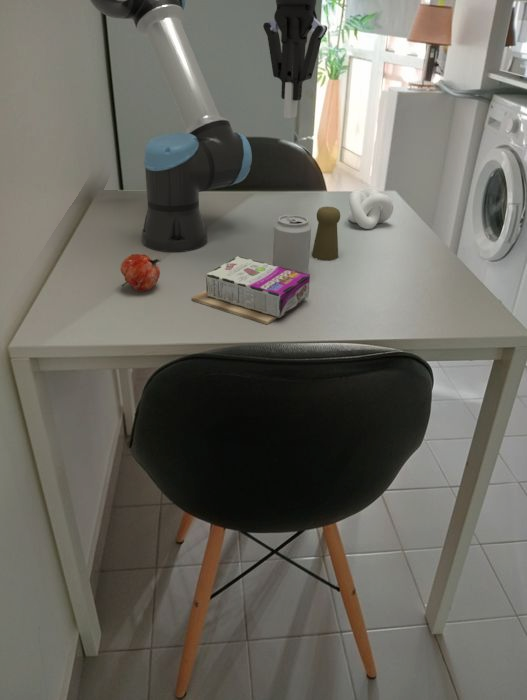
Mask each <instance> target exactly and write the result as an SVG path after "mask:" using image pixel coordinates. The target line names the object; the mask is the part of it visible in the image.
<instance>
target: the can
mask: <svg viewBox="0 0 527 700" xmlns="http://www.w3.org/2000/svg"><path fill="white" fill-rule="evenodd" d="M273 228H274V230H273V251H272V253H273V254H272V265H274V266H278V267H282V268H286V269H290V270H294V271H297V272H301V273H305V274H308V272H309V264H310V253H311V252H310V249H311V239H312V238H311V237H312V226H311V225H310V223H309V218H308V217H306V216H303V215H300V214H299V215H298V214H285V215H281V216H279V217H277V222H276V223H275V224H274V227H273Z"/></svg>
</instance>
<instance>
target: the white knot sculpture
mask: <svg viewBox="0 0 527 700" xmlns="http://www.w3.org/2000/svg"><path fill="white" fill-rule="evenodd" d="M348 197H349V198H348V199H349V200H348V204H349V208H348V209H349V210H348V214H347V215H348V216H347V217H348V220H349V221H350V222H352V224H356V223H357V225H359V227H360V228H362V229H365V230H371V229H373V228H374V227H376V225H377V224H381V223H385V222H386V221H388V220H389V219H390V218H391V216H392V214H393V212H394V204H393V200H392V198H391V197H390V196H388V195H386V194H385V193H382V192H380V190H379V189H378V188H377V187H375V186H368V187H366V188H363V189H362V190H360V189H355V190H353V191H351V193H350V194H349V196H348Z"/></svg>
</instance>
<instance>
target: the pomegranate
mask: <svg viewBox="0 0 527 700" xmlns="http://www.w3.org/2000/svg"><path fill="white" fill-rule="evenodd" d="M161 261H162V260H160V259H158V258H156V259H153V258H152V257H151V256H150V255H148V254H147V255H146V254H142V253H141V254H139V253H132V254H131V255H129V256H127V257H125V259H124V260H123V261H122V263H121V265H120V273H121V274H122V275H123V277H124V281H125V282H124V283H123V284H121V287H124V286H125V285H127V284H128V285H129V286H131V287H132V288H133V289H134V290H135V291H137V292H146V291H149V290H150V289H152V288H153V287H154V286H155V285H156V284H157V283H158V282H159V279H160V276H161V270H160V266H158V264H157V263H159V262H160V263H161Z"/></svg>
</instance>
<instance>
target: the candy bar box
mask: <svg viewBox="0 0 527 700" xmlns="http://www.w3.org/2000/svg"><path fill="white" fill-rule="evenodd" d="M205 278H206V279H205V280H206V289H207V297H211V298H214V299H218V300H221V301H224V302H228V303H231V304H235V305H238V306H242V307H245V308H248V309H251V310H255V311H258V312H261V313H265V314H268V315H271V316H275V317H278V318H277V319H280V318H282V317H283V316H284V315H286V314H287V313H288V312H289V311H291V310H292V309H294V308H295V307H296V306H298V305H299V304H300V303H302V302H303V301H304V300H306V299H307V298H309V294H310V283H311V282H310V279H311V277H310V274H309V273H307V274H305V273H301V272H297V271H294V270H290V269H286V268H282V267H278V266H274V265H273V264H270V263H265V262H262V261H257V260H254V259H250V258H247V257H242V256H239V255H238V256H236V257H235V258H234V257H233V258H232V259H231V260H228V262H225V263H223V264H222V265H219V267H216V268H215V269H213V270H211V271H209V272H208V273H206V274H205Z"/></svg>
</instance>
